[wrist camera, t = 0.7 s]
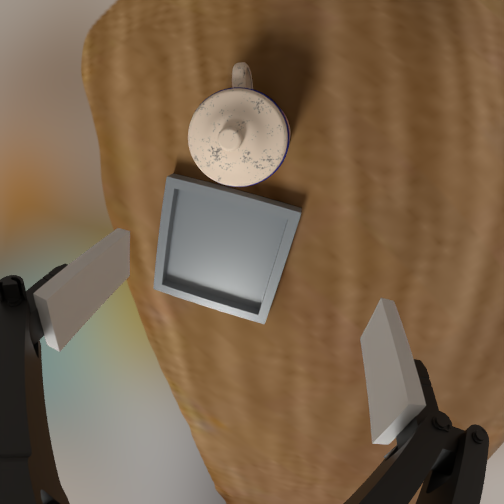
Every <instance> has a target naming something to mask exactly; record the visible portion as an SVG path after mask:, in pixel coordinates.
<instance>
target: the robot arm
mask: <svg viewBox="0 0 504 504" xmlns="http://www.w3.org/2000/svg"><path fill="white" fill-rule="evenodd" d="M129 276H130V231H127V230H124V229H120V228H117V229H116V230H114V231H113V232H112V233H110V234H109V235H107V236H106V237H105V238H103V239H102V240H101V241H99V242H98V243H96V244H95V245H94V246H92V247H91V248H90V249H88V250H87V251H86V252H84V253H83V254H82V255H80V256H79V257H78V258H77V259H75V260H74V261H73V262H71V263H70V264H69V265H67V264H63V265H61V266H58V267H56V268H54V269H53V270H52V271H51V272H49V274H47V275H46V276H44V277H43V279H41V280H39V281H38V282H37V283H35V284H34V285H33V286H32V287H31V288H30V289H28V290H27V291H25V286H24V282H23V279H22V278H21V277H19V276H16V275H10V276H6V277H4V278H2V279H1V280H0V504H69V501H68V498H67V496H66V494H65V492H64V490H63V489H62V486H61V484H60V481H59V477H58V473H57V469H56V464H55V460H54V455H53V450H52V445H51V440H50V435H49V428H48V423H47V416H46V407H45V399H44V389H43V377H42V362H41V361H42V360H41V344H40V341H39V340H40V339H41V338H42V337H43V336H45V340H46V343H47V345H48V346H50V347H52V348H54V349H56V350H58V351H59V352H60V351H61V350H62V349H63V347H64V346H65V345H66V344H67V343H68V342H69V341H70V340H71V338H72V337H73V336H74V335H75V334H76V333H77V332H78V331H79V329H80V328H81V327H82V326H83V325H84V324H85V323H86V322H87V321H88V319H89V318H90V317H91V316H92V315H93V314H94V313H95V312H96V311H97V310H98V308H99V307H100V306H101V305H102V304H103V303H104V302H105V301H106V300H107V299H108V298H109V297H110V295H112V293H113V292H114V291H115V290H116V289H117V288H118V287H119V286H120V285H121V284H122V283H123V282H124V281H125V280H126V279H127V278H128V277H129ZM360 340H361V347H362V354H363V361H364V368H365V376H366V384H367V392H368V401H369V411H370V421H371V433H372V443H373V444H389V443H391V442H392V441H393V440H394V439H395V438H396V439H397V445H396V446H395V447H394V448H393V449H392V450H391V451H390V452H389V453H388V454H386V455H385V456H384V458H385V459H384V460H383V462H382V463H381V464H380V465H379V466H378V467H377V469H376V470H375V471H374V472H373V473H372V474H371V475H370V477H369V478H368V479H367V480H366V481H365V482H364V483H363V484H362V485H361V486H360V487H359V489H358V490H357V491H356V492H355V493H354V494H353V495H352V496H351V497H350V498H349V499H348V500H347V501H346V502H345V503H344V504H408V503H409V502H410V500H411V499H412V498H413V496H414V495H415V493H416V492H417V490H418V489H419V487H420V486H421V484H422V483H423V485H422V488H421V491H420V494H419V497H418V499H417V502H416V504H480V500H481V494H482V490H483V484H484V478H485V471H486V464H487V456H488V447H489V437H488V434H487V432H486V431H485V430H484V428H482V427H481V426H479V425H476V424H475V425H471V426H470V427H469V428H468V429H467V430H465V431H464V430H461V429H458V428H456V427H453V426H452V422H451V420H450V419H449V417H448V416H447V415H446V414H445V413H443V412H441V411H439V409H438V406H437V402H436V399H435V395H434V392H433V388H432V387H431V382H430V380H429V375H428V372H427V369H426V367H425V366H424V365H423V363H422V362H421V361H420V360H415V359H413V356H412V353H411V350H410V346H409V343H408V340H407V337H406V334H405V331H404V328H403V325H402V322H401V319H400V316H399V314H398V311H397V308H396V305H395V302H394V301H392V300H388V299H384V298H381V299H380V301H379V303H378V305H377V307H376V309H375V311H374V313H373V315H372V317H371V319H370V321H369V323H368V325H367V327H366V329H365V330H364V332H363V334H362V336H361V338H360ZM423 481H424V482H423Z"/></svg>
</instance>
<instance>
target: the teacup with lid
mask: <svg viewBox="0 0 504 504" xmlns="http://www.w3.org/2000/svg"><path fill="white" fill-rule="evenodd" d="M290 134H291V133H290V125H289V122H288V119H287V117H286V115H285V114H284V112H283V111H282V110H281V109H280V108H279V106H278V105H277V104H276V103H275V102H274V101H273V100H272V99H271V98H269V97H268V96H267V95H265V94H263V93H261V92H259V91H257V90H254V89H253V82H252V75H251V71H250V68H249V66H248V65H247V64H246V63H236V64H235V65H234V67H233V72H232V88H228V89H224V90H221V91H218V92H216V93H214V94H212V95H211V96H209V97H208V98H207V99H206V100H204V101H203V102H202V103H201V104H200V106H199V107H198V108H197V110H196V111H195V113H194V115H193V117H192V119H191V122H190V125H189V131H188V144H189V149H190V152H191V155H192V157H193V159H194V161H195V163H196V165H197V166H198V167H199V169H200V170H201V171H202V172H203V173H204V174H205V175H207V176H208V177H209V178H211V179H212V180H214V181H216V182H218V183H220V184H223V185H227V186H232V187H246V186H251V185H255V184H258V183H260V182H262V181H264V180H266V179H267V178H269V177H270V176H271V175H272V174H274V173H275V172H276V170H277V169H278V168H279V167H280V166H281V164H282V162H283V161H284V159H285V157H286V154H287V151H288V147H289V142H290Z"/></svg>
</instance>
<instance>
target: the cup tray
mask: <svg viewBox="0 0 504 504" xmlns="http://www.w3.org/2000/svg"><path fill="white" fill-rule="evenodd" d="M301 209H302V208H300V207H296V206H293V205H290V204H286V203H283V202H279V201H276V200H272V199H269V198H265V197H262V196H258V195H255V194H251V193H248V192H244V191H240V190H236V189H233V188H229V187H225V186H221V185H218V184H214V183H210V182H206V181H202V180H198V179H194V178H190V177H186V176H182V175H178V174H174V173H173V174H171V175H169V176H167V179H166V186H165V192H164V199H163V206H162V214H161V221H160V229H159V238H158V247H157V256H156V266H155V277H154V289H155V290H158V291H161V292H164V293H167V294H170V295H173V296H176V297H179V298H182V299H185V300H188V301H191V302H194V303H197V304H200V305H203V306H206V307H209V308H212V309H215V310H219V311H222V312H225V313H228V314H232V315H235V316H238V317H242V318H245V319H248V320H252V321H255V322H259V323H262V324H265V322H266V319H267V316H268V313H269V310H270V307H271V304H272V301H273V298H274V295H275V292H276V289H277V286H278V283H279V280H280V277H281V274H282V271H283V268H284V265H285V262H286V259H287V256H288V253H289V250H290V247H291V244H292V241H293V238H294V235H295V231H296V228H297V225H298V222H299V219H300V216H301Z"/></svg>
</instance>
